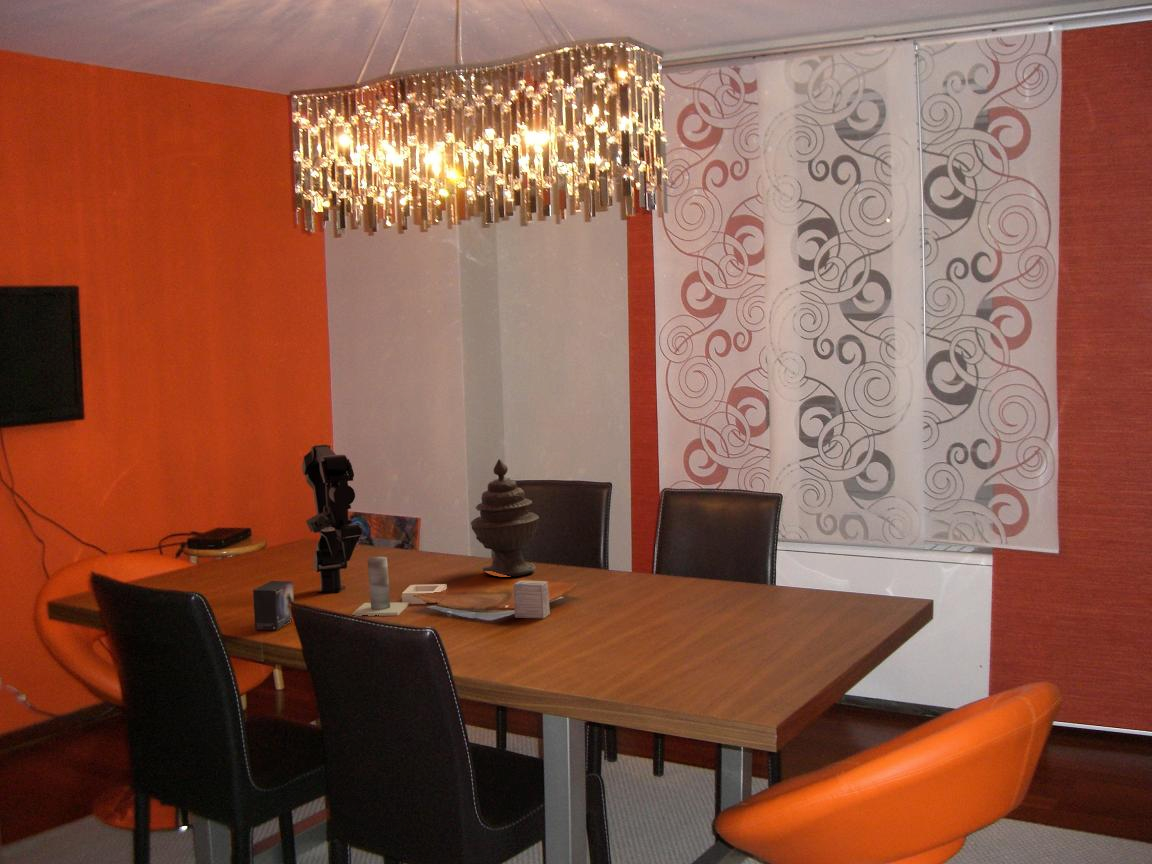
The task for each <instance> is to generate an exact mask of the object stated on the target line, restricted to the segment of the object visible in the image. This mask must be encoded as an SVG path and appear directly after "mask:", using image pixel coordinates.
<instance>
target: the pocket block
mask: <svg viewBox="0 0 1152 864" xmlns="http://www.w3.org/2000/svg"><path fill="white" fill-rule="evenodd" d="M446 589H447V590H448V587H447V583H443V584H442V583H440V584H439V583H438V584H434V583H432V584H431V583H429V584H427V583H426V584H410V585H409V586H408V587H407V588H405V590H404V591H403V592H402V593H401V602H408V604H409V605H427V604H426V603H425V602H424V601H423V600H422V599H420V598H417V597H414V596H413V595H418V594H426V593H434V592H441V591H443V590H446Z"/></svg>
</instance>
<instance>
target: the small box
mask: <svg viewBox="0 0 1152 864" xmlns="http://www.w3.org/2000/svg"><path fill="white" fill-rule="evenodd" d="M252 595H253V596H252V597H253V614H254V615H253V616H254V631H269V630H277V629H279V628H280V627H282V626H284V625H285V624H287V623H288V622H290V620H291V623H293V622H292V618H291V613H290V606H289V603H290V601H294V602H295V599H294V597H295V595H294V581H285V580H283V581H282V580H271V581H269V582H266V583H265V584H262V585H260V586H258V587H255V588H254V589H252ZM284 627H285V626H284ZM282 628H283V627H282ZM279 630H280V629H279ZM277 631H278V630H277Z"/></svg>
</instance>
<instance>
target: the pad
mask: <svg viewBox="0 0 1152 864" xmlns="http://www.w3.org/2000/svg"><path fill="white" fill-rule="evenodd" d="M409 605H410V604H408V602H402V601H401V602H400V601H395V602H394V601H393V602H391V601H390V608H387V609H383V610H373V609H371V602H364V603H362V604H361V605H360V606H359V607H358V608H356V610H354V611H353V612H352V615H356V616H355V617H363V616H362V615H368V616H367V617H374V616H375V615H377V616H375V617H379V616H380V617H382V616H383V617H384V616H385V617H386V616H387V617H389V616H393V617H394V616H399V615H400V614H401V613H402V612H403V611H404V610H405V609H406V608H407V607H409ZM352 615H351V616H352ZM378 615H379V616H378Z"/></svg>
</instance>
